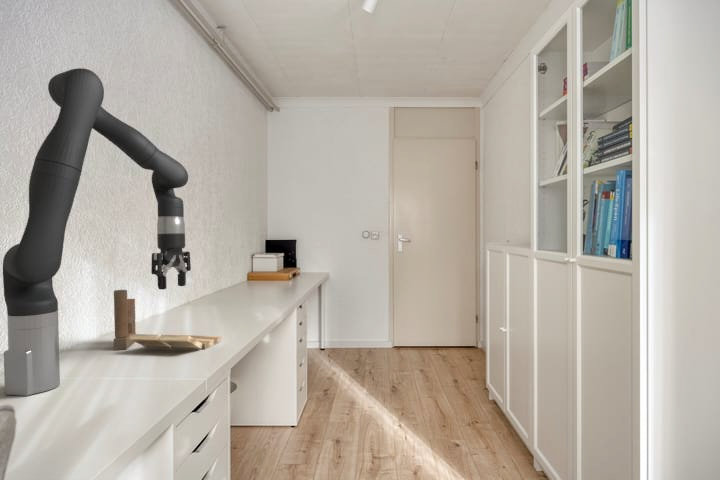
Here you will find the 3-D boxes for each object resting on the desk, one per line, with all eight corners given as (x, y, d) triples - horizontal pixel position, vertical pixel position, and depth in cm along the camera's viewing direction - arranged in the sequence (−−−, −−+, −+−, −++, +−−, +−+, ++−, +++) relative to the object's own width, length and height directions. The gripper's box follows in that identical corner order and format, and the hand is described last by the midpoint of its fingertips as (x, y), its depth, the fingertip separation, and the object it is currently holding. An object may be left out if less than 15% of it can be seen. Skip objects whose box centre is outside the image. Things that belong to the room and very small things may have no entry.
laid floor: (204, 349, 132) (204, 343, 132) (145, 347, 136) (145, 341, 136) (221, 341, 142) (221, 336, 142) (165, 339, 146) (165, 334, 146)
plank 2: (187, 340, 125) (188, 335, 125) (159, 339, 126) (161, 334, 127) (201, 348, 131) (202, 343, 132) (174, 347, 133) (176, 342, 134)
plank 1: (156, 339, 127) (157, 334, 127) (129, 339, 128) (130, 334, 129) (171, 347, 133) (172, 342, 134) (145, 346, 135) (147, 341, 136)
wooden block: (136, 341, 144) (134, 286, 144) (126, 349, 134) (125, 290, 134) (123, 342, 143) (122, 287, 143) (113, 350, 133) (111, 291, 133)
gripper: (165, 232, 122) (166, 290, 122) (197, 232, 135) (198, 285, 135) (142, 232, 123) (144, 290, 124) (176, 232, 137) (177, 284, 137)
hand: (172, 287), depth 129 cm, fingers open, 8 cm apart
